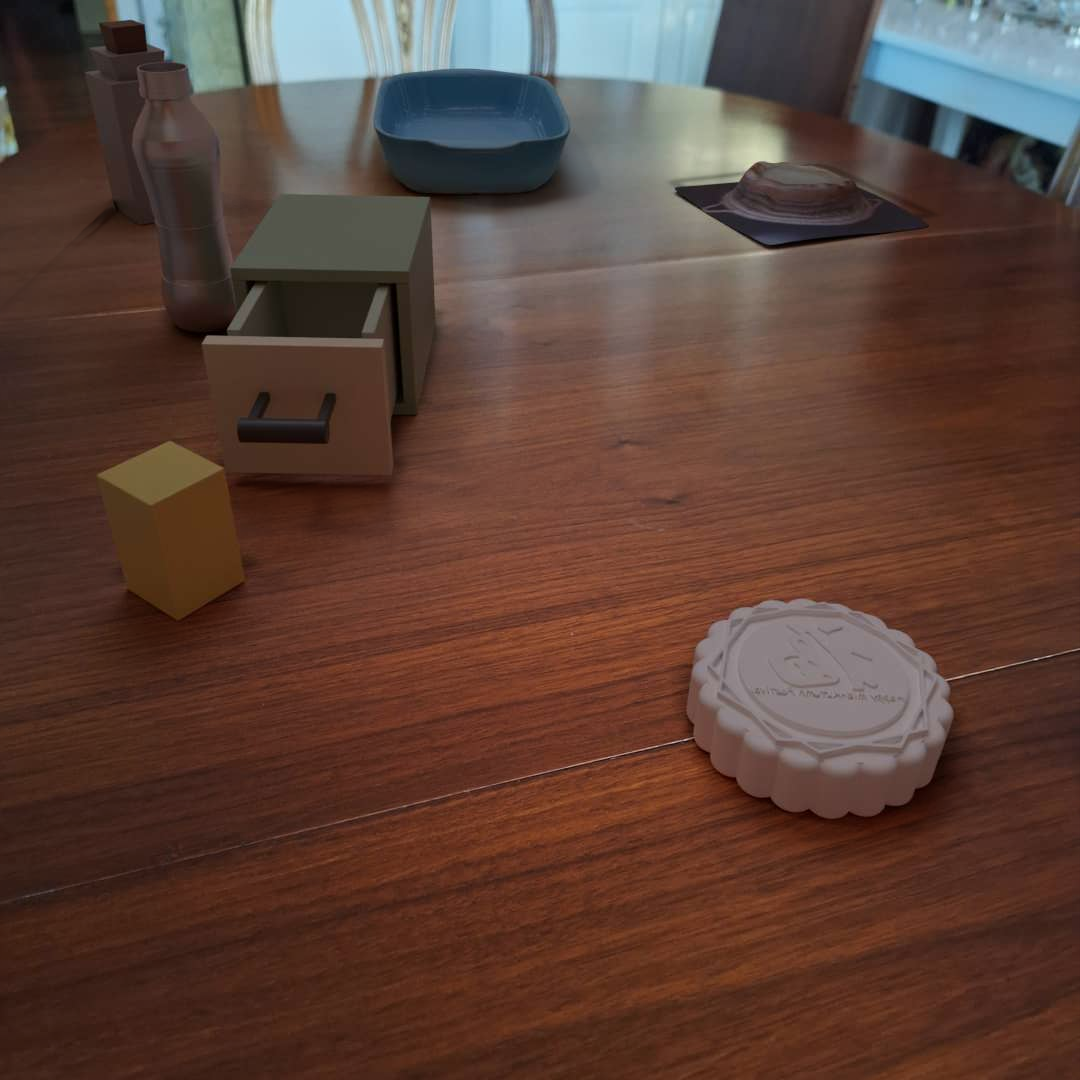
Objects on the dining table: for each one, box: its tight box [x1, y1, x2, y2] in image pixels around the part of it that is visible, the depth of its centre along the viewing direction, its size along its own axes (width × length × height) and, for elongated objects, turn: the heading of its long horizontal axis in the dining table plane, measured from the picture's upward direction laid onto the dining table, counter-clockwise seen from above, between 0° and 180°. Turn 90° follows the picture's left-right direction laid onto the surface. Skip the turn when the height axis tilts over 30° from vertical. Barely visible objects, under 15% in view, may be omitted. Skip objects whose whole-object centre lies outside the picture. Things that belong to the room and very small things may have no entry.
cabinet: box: [230, 193, 437, 416], centre depth 78 cm, size 16×12×11 cm
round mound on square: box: [674, 160, 929, 246], centre depth 114 cm, size 21×20×4 cm
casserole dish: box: [373, 68, 571, 195], centre depth 125 cm, size 37×22×7 cm, turn 5°
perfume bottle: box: [84, 19, 165, 226], centre depth 105 cm, size 7×7×18 cm
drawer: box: [201, 281, 402, 476], centre depth 67 cm, size 20×11×9 cm, turn 0°
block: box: [96, 440, 246, 621], centre depth 56 cm, size 5×5×8 cm
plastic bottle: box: [132, 61, 237, 333], centre depth 81 cm, size 6×7×20 cm
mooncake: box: [686, 598, 955, 820], centre depth 49 cm, size 12×12×4 cm
